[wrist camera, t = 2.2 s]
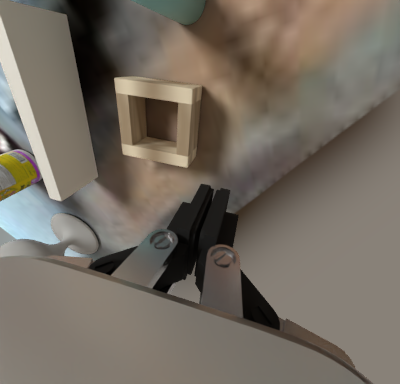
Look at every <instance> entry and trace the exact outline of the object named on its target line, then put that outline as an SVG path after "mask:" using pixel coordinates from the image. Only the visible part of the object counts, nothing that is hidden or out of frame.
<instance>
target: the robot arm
mask: <svg viewBox="0 0 400 384" xmlns="http://www.w3.org/2000/svg"><path fill="white" fill-rule="evenodd" d="M213 191H214V189H211V186H209V185H205V184H201V185H200V187H199V189H198V191H197V193H196V195H195V196H194V198H193V200H192V202H191V204H190V203H186V202H183V203H182V204H181V206H180V208H179V209H178V211H177V213H176V214H175V216H174V218H173V219H172V221H171V223H170V224H169V226H168V228H167V229H160V230H156V231H153V232H152V233H150V234H149V235H148V236H147V237H146V238H145V239H144V241H143V242H142V243H141V244H140V245H139V246H136V247H133V248H130V249H127V250H123V251H120V252H117V253H114V254H111V255H108V256H105V257H102V258H100V259H97V260H96V261H93V259H92V258H81V257H68V256H55V255H52V256H45V257H39V256H26V255H20V256H5V257H0V384H373V383H372V382H371V381H370V380H369V379H367V378H366V377H365V376H364V375H363V374H361V373H360V372H359V371H357V370H356V369H355V366H354V364H353V362H352V361H351V359H350V358H349V356H348V355H347V354H346V353H345V352H344V351H343V350H342V349H340V348H339V347H337V346H336V345H334V344H332V343H330V342H329V341H327V340H325V339H323V338H321V337H319V336H317V335H316V334H314V333H312V332H310V331H308V330H307V329H305V328H303V327H301V326H299V325H297V324H296V323H294V322H292V321H290V320H288V319H286V320H283V319H281V318H279V317H278V316H277V314H276V312H275V311H274V310H273V308H272V307H271V306H270V305H269V303H268V302H267V301H266V300H265V298H264V297H263V296H262V295H261V294H260V292H259V291H258V290H257V289H256V288H255V286H254V285H253V284H252V283H251V281H250V280H249V279H248V278H247V277H246V275H245V274H244V273H243V272H242V270H241V269H240V259H239V255H238V253H237V252H236V251H235V250H234V249H233V243H234V237H235V232H236V226H237V221H238V215H236V214H232V213H228V212H226V209H227V204H228V199H229V194H230V190H228V189H223V188H221V189H220V190H217V191H216V193H215V196H214V198H213V201H212V197H213ZM196 259H197V260H196ZM195 262H196V268H195V276H196V282H195V284H196V286H197V287H198V289H199V291H200V292H201V294H200V301H199V304H198V303H195V302H192V301H188V300H185V299H182V298H179V297H176V296H173V295H170V294H171V292H172V290H173V289H174V287H175V284H176V282H178V281H180V280H182V279H184V280H185V279H186V276H187V274H190V275H191V273H192V271H193V268H194V265H195Z"/></svg>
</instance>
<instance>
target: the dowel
mask: <svg viewBox="0 0 400 384" xmlns="http://www.w3.org/2000/svg"><path fill="white" fill-rule="evenodd" d="M132 1H134V2H136V3H138V4H140V5H142V6H144V7H147V8H149V9H151V10H153V11H155V12H157V13H159V14H161V15H164V16H166V17H168V18H170V19H172V20H174V21H176V22H178V23H181V24H183V25H190V24H193V23H194V22H196V21H197V20H198V19H199V18H200V16H201V15H202V13H203V10H204V7H205V2H206V0H132Z"/></svg>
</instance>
